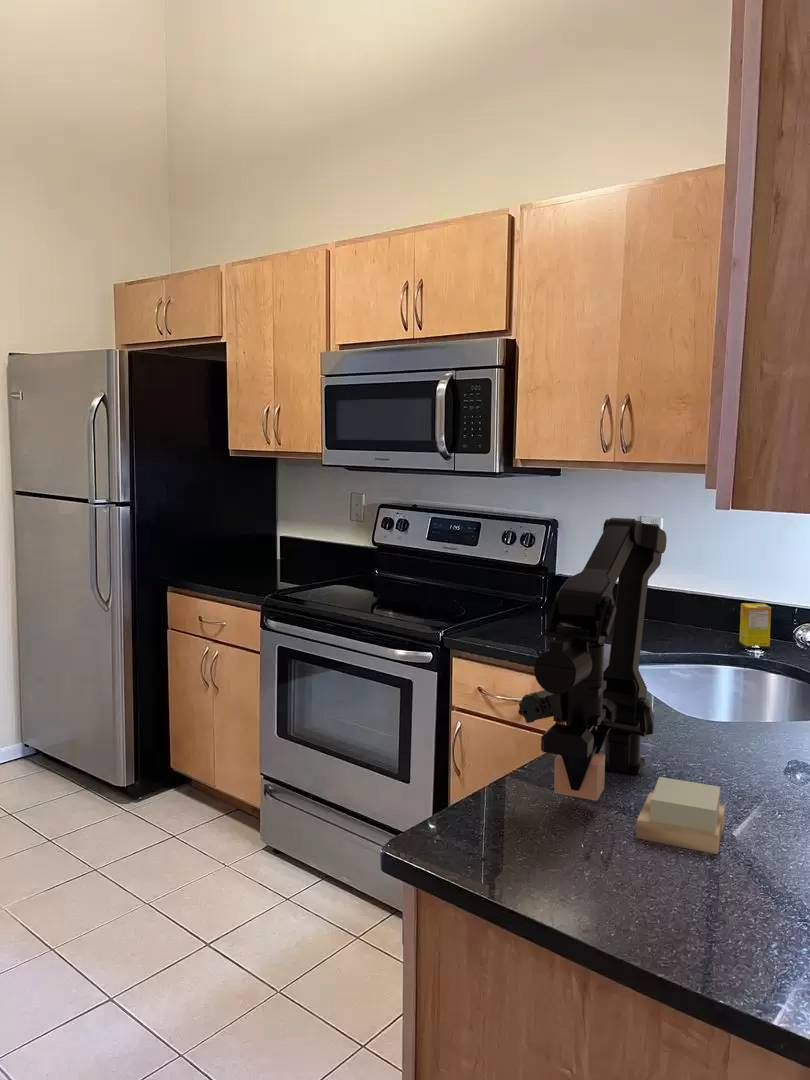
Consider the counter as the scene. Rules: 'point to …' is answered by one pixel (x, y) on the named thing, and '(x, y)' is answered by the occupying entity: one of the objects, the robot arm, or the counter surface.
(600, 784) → the terracotta brick
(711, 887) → the counter surface
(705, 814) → the tower top
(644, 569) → the robot arm
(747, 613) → the supplement box
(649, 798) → the tower base
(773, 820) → the counter surface
